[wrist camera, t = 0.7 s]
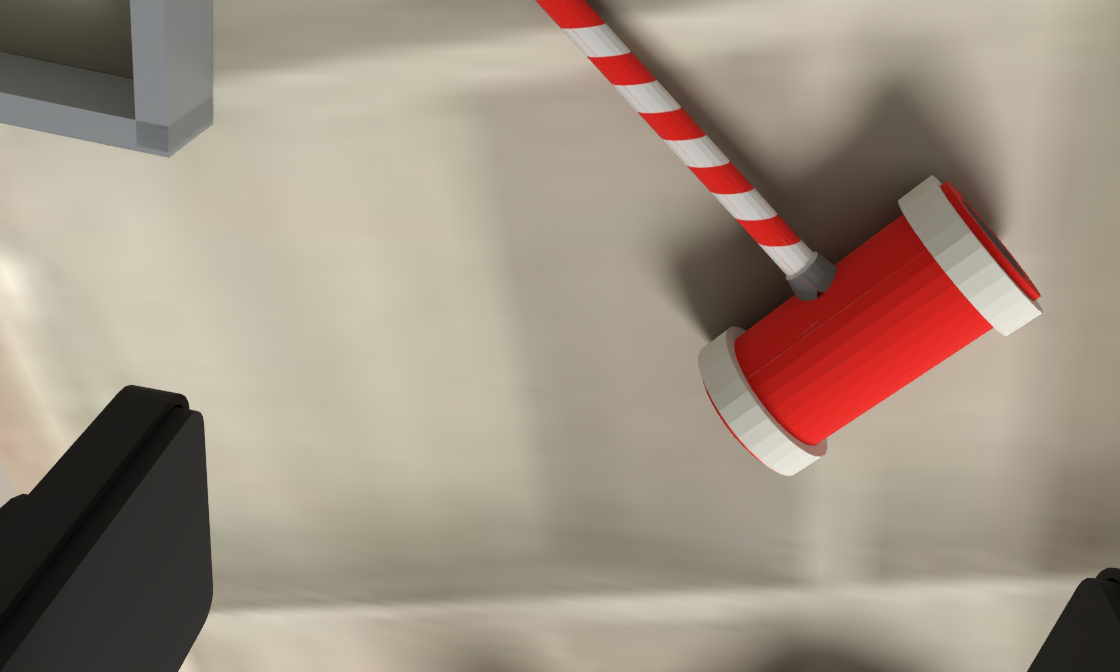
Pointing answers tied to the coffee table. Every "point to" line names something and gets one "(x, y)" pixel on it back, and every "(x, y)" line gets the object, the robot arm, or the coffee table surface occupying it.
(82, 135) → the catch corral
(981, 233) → the toy hammer
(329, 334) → the coffee table surface
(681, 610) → the coffee table surface
